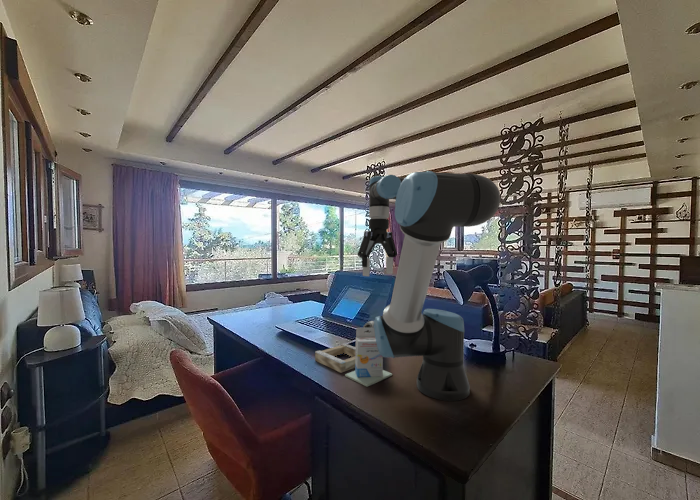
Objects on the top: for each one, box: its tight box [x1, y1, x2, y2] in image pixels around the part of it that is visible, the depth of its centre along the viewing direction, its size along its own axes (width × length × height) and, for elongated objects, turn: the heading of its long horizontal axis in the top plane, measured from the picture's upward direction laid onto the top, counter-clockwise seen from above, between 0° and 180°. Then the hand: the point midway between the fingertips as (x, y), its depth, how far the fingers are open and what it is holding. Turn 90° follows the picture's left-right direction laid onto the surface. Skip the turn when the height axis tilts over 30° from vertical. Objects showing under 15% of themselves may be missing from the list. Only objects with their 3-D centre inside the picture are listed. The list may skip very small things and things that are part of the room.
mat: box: [344, 369, 393, 388], centre depth 99 cm, size 10×12×1 cm
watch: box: [362, 320, 374, 333], centre depth 127 cm, size 6×8×11 cm
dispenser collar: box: [314, 342, 356, 374], centre depth 111 cm, size 14×14×3 cm
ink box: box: [354, 327, 384, 377], centre depth 99 cm, size 8×5×15 cm, turn 97°
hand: (378, 274), depth 114 cm, fingers open, 13 cm apart
